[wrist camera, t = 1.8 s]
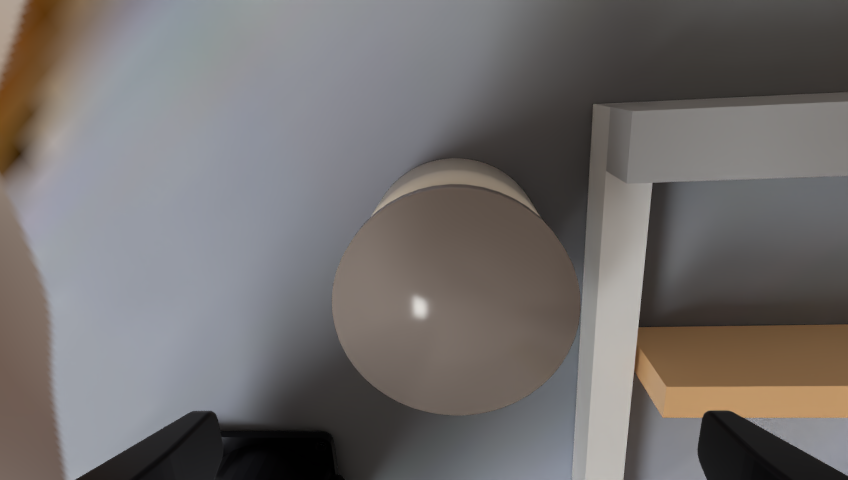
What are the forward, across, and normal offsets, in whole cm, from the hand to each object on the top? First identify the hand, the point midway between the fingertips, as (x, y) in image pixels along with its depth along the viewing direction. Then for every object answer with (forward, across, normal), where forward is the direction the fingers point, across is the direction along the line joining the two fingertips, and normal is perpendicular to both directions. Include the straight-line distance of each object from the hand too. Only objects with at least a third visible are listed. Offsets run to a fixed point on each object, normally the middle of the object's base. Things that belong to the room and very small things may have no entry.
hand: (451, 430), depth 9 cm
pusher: (+11, -13, +4) cm, 17 cm away
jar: (+11, 0, 0) cm, 11 cm away
